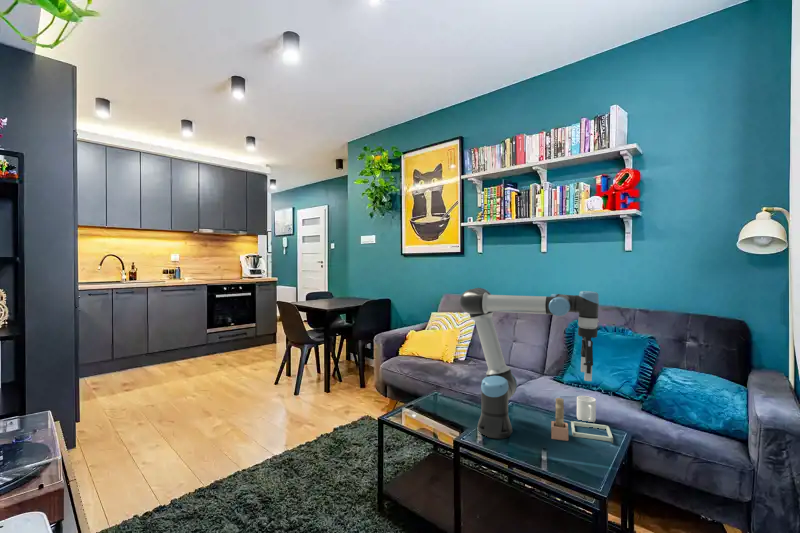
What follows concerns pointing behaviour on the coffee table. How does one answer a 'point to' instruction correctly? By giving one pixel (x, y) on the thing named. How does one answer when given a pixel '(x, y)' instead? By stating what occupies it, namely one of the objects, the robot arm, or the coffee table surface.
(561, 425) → the pin
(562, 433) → the holder
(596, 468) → the coffee table surface
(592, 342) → the robot arm
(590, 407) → the cup
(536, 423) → the coffee table surface
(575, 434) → the tray
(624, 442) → the coffee table surface
